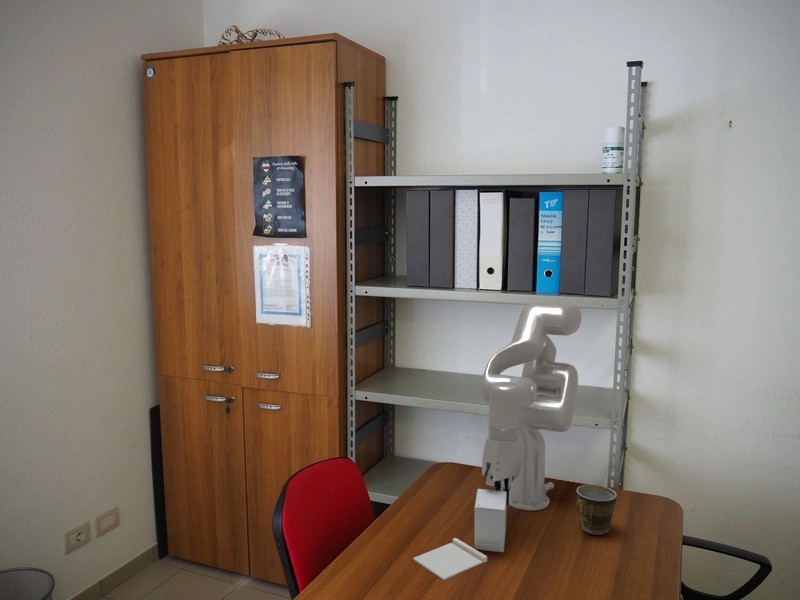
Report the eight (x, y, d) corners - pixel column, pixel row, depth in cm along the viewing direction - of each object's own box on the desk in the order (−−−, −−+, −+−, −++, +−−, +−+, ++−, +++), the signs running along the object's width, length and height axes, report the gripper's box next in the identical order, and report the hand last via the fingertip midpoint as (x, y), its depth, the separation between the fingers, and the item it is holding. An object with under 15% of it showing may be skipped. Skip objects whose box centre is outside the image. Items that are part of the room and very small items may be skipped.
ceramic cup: (591, 516, 170) (592, 481, 169) (623, 531, 162) (625, 494, 161) (559, 529, 163) (560, 493, 161) (591, 545, 155) (593, 507, 153)
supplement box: (504, 553, 151) (505, 510, 146) (473, 549, 153) (473, 507, 148) (506, 532, 158) (507, 490, 153) (477, 528, 159) (477, 487, 155)
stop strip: (455, 542, 156) (455, 537, 156) (487, 561, 147) (487, 556, 147) (452, 543, 155) (452, 539, 155) (484, 562, 147) (484, 557, 146)
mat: (451, 544, 155) (451, 542, 155) (482, 563, 146) (482, 561, 146) (413, 559, 148) (413, 557, 148) (443, 580, 139) (443, 578, 139)
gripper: (513, 423, 162) (511, 491, 164) (471, 434, 153) (469, 506, 155) (535, 430, 156) (533, 501, 158) (493, 442, 147) (491, 517, 149)
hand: (501, 503), depth 156 cm, fingers closed
